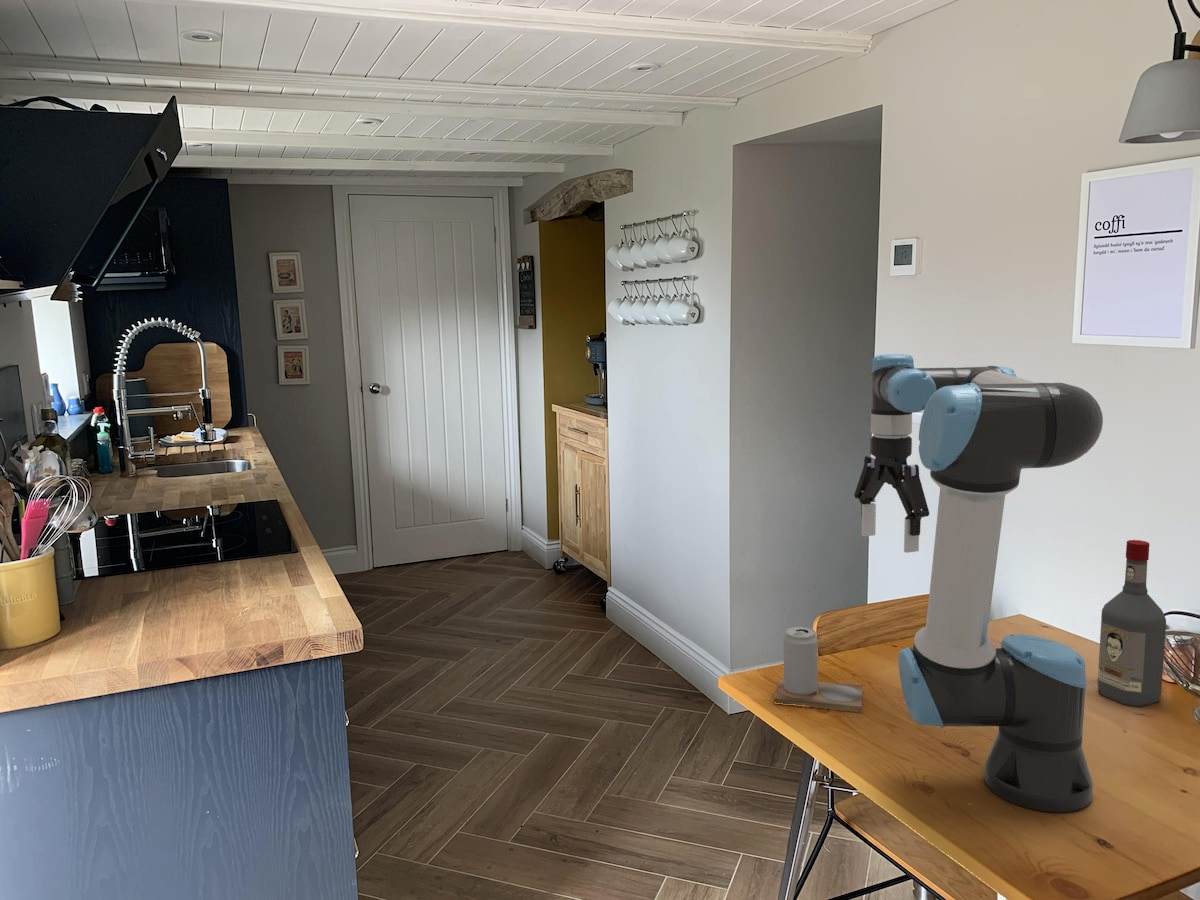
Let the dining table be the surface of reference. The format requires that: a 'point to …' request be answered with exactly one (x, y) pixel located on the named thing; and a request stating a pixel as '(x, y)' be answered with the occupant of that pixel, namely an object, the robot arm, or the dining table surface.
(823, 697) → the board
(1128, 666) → the liquor
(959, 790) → the dining table surface
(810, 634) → the beverage can
